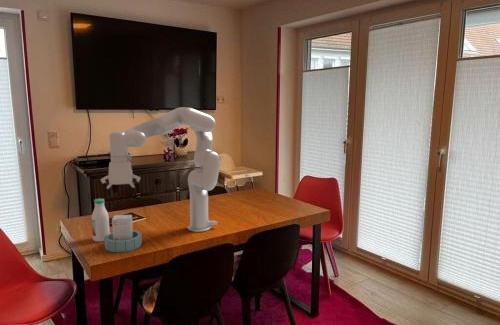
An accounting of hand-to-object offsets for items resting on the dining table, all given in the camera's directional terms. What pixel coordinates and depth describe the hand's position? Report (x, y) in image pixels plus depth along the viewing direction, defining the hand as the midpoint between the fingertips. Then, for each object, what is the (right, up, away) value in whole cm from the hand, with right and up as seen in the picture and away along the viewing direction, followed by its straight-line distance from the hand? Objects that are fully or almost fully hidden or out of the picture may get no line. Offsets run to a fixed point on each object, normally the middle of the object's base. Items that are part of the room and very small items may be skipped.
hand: (121, 196), depth 172 cm
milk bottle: (-14, -22, +12) cm, 29 cm away
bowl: (0, -23, +3) cm, 24 cm away
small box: (0, -23, +3) cm, 23 cm away
